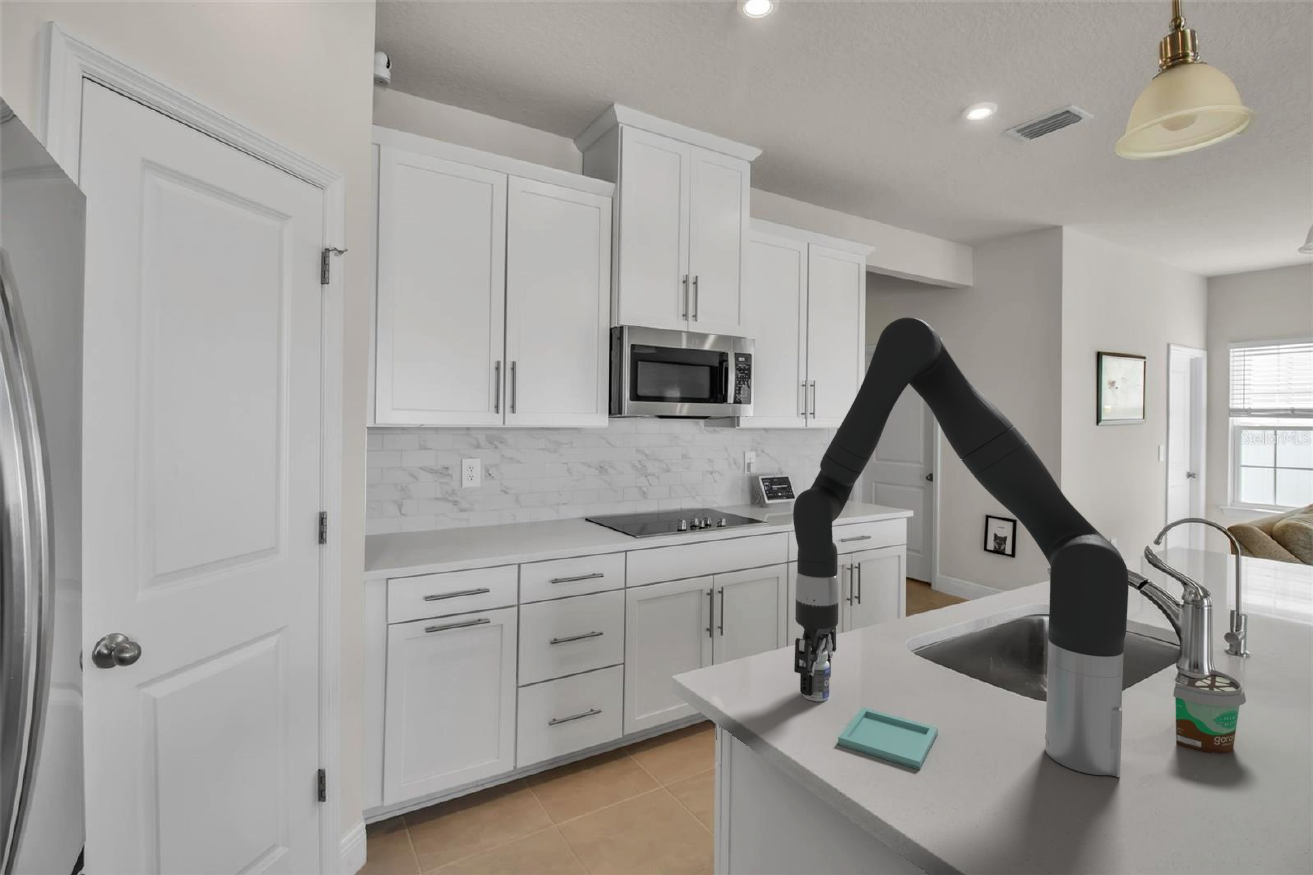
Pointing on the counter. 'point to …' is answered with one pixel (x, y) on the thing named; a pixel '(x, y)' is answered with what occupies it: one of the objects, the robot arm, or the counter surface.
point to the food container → (1208, 713)
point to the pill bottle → (821, 679)
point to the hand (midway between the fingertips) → (815, 685)
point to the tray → (889, 737)
